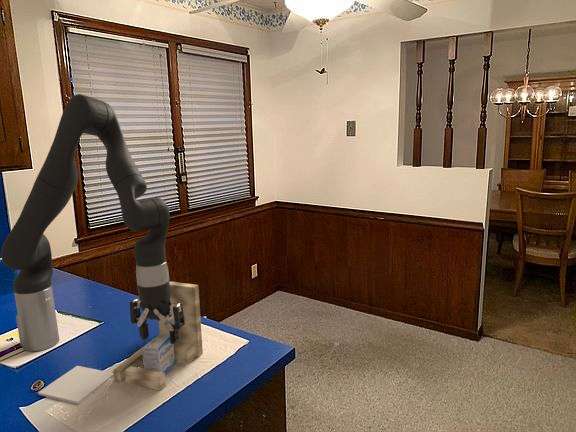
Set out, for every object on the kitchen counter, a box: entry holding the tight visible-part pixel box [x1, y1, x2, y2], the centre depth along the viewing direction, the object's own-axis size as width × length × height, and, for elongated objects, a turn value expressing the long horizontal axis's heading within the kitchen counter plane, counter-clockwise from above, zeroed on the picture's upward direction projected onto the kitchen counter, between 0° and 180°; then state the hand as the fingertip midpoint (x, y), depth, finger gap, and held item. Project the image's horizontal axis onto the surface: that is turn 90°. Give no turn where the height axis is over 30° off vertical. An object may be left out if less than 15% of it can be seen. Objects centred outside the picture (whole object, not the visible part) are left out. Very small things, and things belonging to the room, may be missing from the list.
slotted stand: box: [112, 281, 204, 392], centre depth 111 cm, size 14×18×20 cm
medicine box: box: [141, 333, 176, 376], centre depth 110 cm, size 8×4×9 cm, turn 168°
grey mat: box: [37, 365, 114, 405], centre depth 106 cm, size 12×12×1 cm
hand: (159, 340), depth 110 cm, fingers open, 8 cm apart
